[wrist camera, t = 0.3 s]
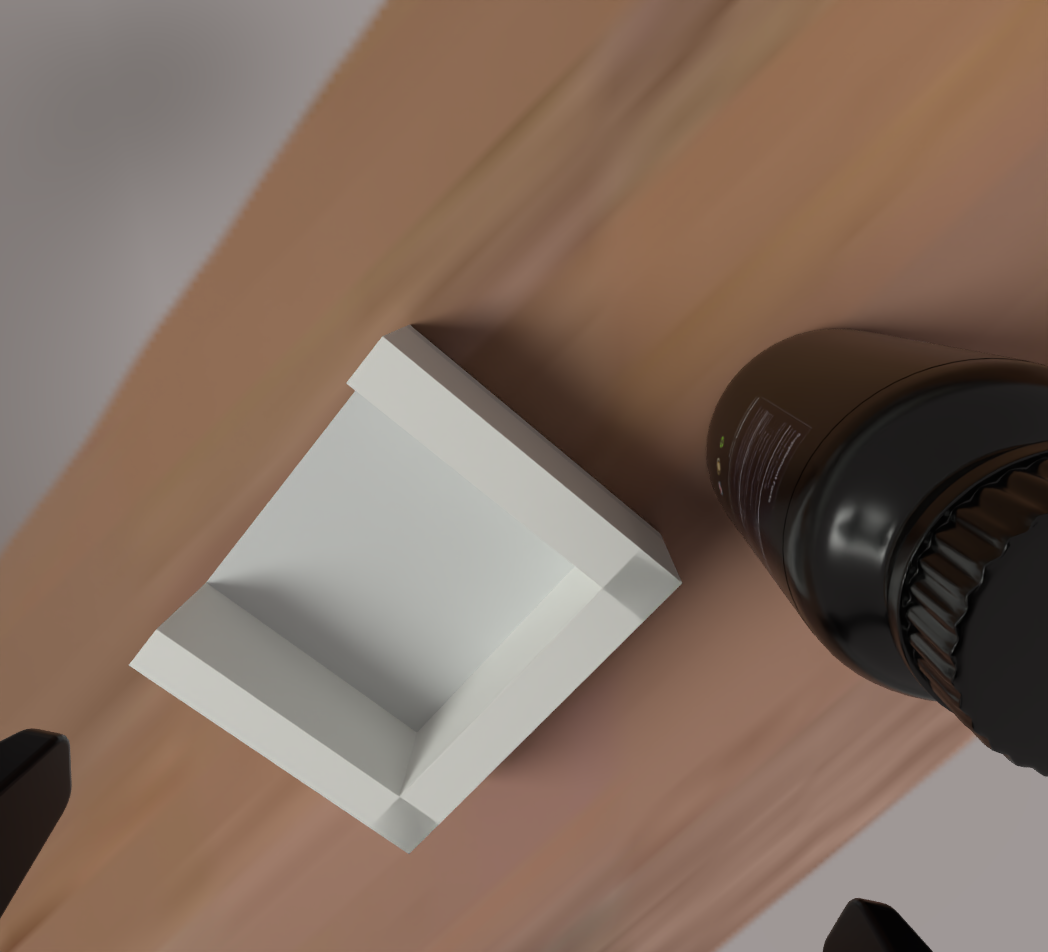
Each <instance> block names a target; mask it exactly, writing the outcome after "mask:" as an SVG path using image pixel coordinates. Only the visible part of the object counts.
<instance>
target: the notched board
mask: <svg viewBox="0 0 1048 952" xmlns="http://www.w3.org/2000/svg"><path fill="white" fill-rule="evenodd" d="M347 384H348V385H349V386H350V387H352V388H353V389H354V390H355V392H354V393H353V395H352V396H351V397H350V399H349V400H348V401H347V402H346V404H345V405H344V406H343V408H342V409H341V410H340V411H339V413H338V414H337V415H336V417H335V418H334V419H333V420H332V422H331V423H330V424H329V426H328V427H327V428H326V429H325V431H324V432H323V433H322V435H321V436H320V437H319V438H318V440H317V441H316V442H315V444H314V445H313V446H312V447H311V449H310V450H309V451H308V453H307V454H306V455H305V456H304V458H303V459H302V460H301V462H300V463H299V464H298V465H297V467H296V468H295V469H294V471H293V472H292V473H291V474H290V476H289V477H288V478H287V480H286V481H285V482H284V483H283V485H282V486H281V487H280V489H279V490H278V491H277V492H276V494H275V495H274V496H273V497H272V499H271V500H270V501H269V503H268V504H267V505H266V506H265V508H264V509H263V510H262V512H261V513H260V514H259V515H258V517H257V518H256V519H255V521H254V522H253V523H252V524H251V526H250V527H249V528H248V530H247V531H246V532H245V533H244V535H243V536H242V537H241V539H240V540H239V541H238V542H237V544H236V545H235V546H234V548H233V549H232V550H231V551H230V553H229V554H228V555H227V557H226V558H225V559H224V560H223V562H222V563H221V564H220V566H219V567H218V568H217V569H216V571H215V572H214V573H213V575H212V576H211V577H210V578H209V580H208V581H207V582H206V583H205V584H204V585H203V586H202V587H201V588H200V589H199V590H198V591H197V592H196V593H195V594H194V595H193V596H191V597H190V598H189V599H188V600H187V601H186V602H185V603H184V604H183V605H182V606H181V607H180V608H179V609H178V610H177V611H176V612H174V613H173V614H172V615H171V616H170V617H169V618H168V619H167V620H166V621H165V622H164V623H163V624H162V625H161V626H160V627H158V628H157V629H156V631H155V632H154V633H153V635H152V636H151V637H150V638H149V640H148V641H147V642H146V644H145V645H144V646H143V647H142V649H141V650H140V651H139V653H138V654H137V655H136V657H135V658H134V659H133V660H132V662H131V663H130V664H129V666H131V667H132V668H134V669H135V670H137V671H138V672H140V673H141V674H143V675H144V676H146V677H147V678H148V679H150V680H151V681H153V682H154V683H156V684H157V685H159V686H160V687H162V688H163V689H165V690H166V691H168V692H169V693H171V694H172V695H174V696H175V697H177V698H178V699H180V700H181V701H183V702H184V703H186V704H187V705H189V706H190V707H192V708H193V709H194V710H196V711H197V712H199V713H200V714H202V715H203V716H205V717H206V718H208V719H209V720H211V721H212V722H214V723H215V724H217V725H218V726H220V727H221V728H223V729H224V730H226V731H227V732H229V733H230V734H232V735H233V736H235V737H236V738H238V739H239V740H240V741H242V742H243V743H245V744H246V745H248V746H249V747H251V748H252V749H254V750H255V751H257V752H258V753H260V754H261V755H263V756H264V757H266V758H267V759H269V760H270V761H272V762H273V763H275V764H276V765H278V766H279V767H281V768H282V769H284V770H285V771H286V772H288V773H289V774H291V775H292V776H294V777H295V778H297V779H298V780H300V781H301V782H303V783H304V784H306V785H307V786H309V787H310V788H312V789H313V790H315V791H316V792H318V793H319V794H321V795H322V796H324V797H325V798H327V799H328V800H330V801H331V802H333V803H334V804H335V805H337V806H338V807H340V808H341V809H343V810H344V811H346V812H347V813H349V814H350V815H352V816H353V817H355V818H356V819H358V820H359V821H361V822H362V823H364V824H365V825H367V826H368V827H370V828H371V829H373V830H374V831H376V832H377V833H379V834H380V835H381V836H383V837H384V838H386V839H387V840H389V841H390V842H392V843H393V844H395V845H396V846H398V847H399V848H401V849H402V850H404V851H405V852H407V853H408V854H409V853H410V852H411V851H412V850H413V849H414V848H416V847H417V846H418V845H419V844H420V843H421V842H422V841H423V840H424V839H425V838H426V837H427V836H428V835H429V834H430V833H431V832H432V831H433V830H434V829H435V828H436V827H437V826H438V825H439V824H440V823H441V822H442V821H443V820H444V819H445V818H446V817H447V816H448V815H449V814H450V813H451V812H452V811H453V810H454V809H455V808H456V807H457V806H458V805H459V804H460V803H461V802H462V801H463V800H464V799H465V798H466V797H467V796H468V795H469V794H470V793H471V792H472V791H473V790H474V789H475V788H476V787H477V786H478V785H479V784H480V783H481V782H482V781H483V780H484V779H485V778H486V777H487V776H488V775H489V774H490V773H491V772H492V771H493V770H494V769H495V768H496V767H497V766H498V765H499V764H500V763H501V762H502V761H503V760H504V759H505V758H506V757H507V756H508V755H509V754H510V753H511V752H512V751H513V750H514V749H515V748H516V747H517V746H518V745H519V744H520V743H521V742H522V741H523V740H524V739H525V738H526V737H528V736H529V735H530V734H531V733H532V732H533V731H534V730H535V729H536V728H537V727H538V726H539V725H540V724H541V723H542V722H543V721H544V720H545V719H546V718H547V717H548V716H549V715H550V714H551V713H552V712H553V711H554V710H555V709H556V708H557V707H558V706H559V705H560V704H561V703H562V702H563V701H564V700H565V699H566V698H567V697H568V696H569V695H570V694H571V693H572V692H573V691H574V690H575V689H576V688H577V687H578V686H579V685H580V684H581V683H582V682H583V681H584V680H585V679H586V678H587V677H588V676H589V675H590V674H591V673H592V672H593V671H594V670H595V669H596V668H597V667H598V666H599V665H600V664H601V663H602V662H603V661H604V660H605V659H606V658H607V657H608V656H609V655H610V654H611V653H612V652H613V651H614V650H615V649H616V648H617V647H618V646H619V645H620V644H621V643H622V642H623V641H624V640H625V639H626V638H627V637H628V636H629V635H630V634H631V633H632V632H633V631H634V630H635V629H636V628H637V627H639V626H640V625H641V624H642V623H643V622H644V621H645V620H646V619H647V618H648V617H649V616H650V615H651V614H652V613H653V612H654V611H655V610H656V609H657V608H658V607H659V606H660V605H661V604H662V603H663V602H664V601H665V600H666V599H667V598H668V597H669V596H670V595H671V594H672V593H673V592H674V591H675V590H676V589H677V588H678V587H679V586H680V585H681V584H682V581H681V579H680V577H679V574H678V572H677V570H676V568H675V565H674V563H673V561H672V559H671V556H670V554H669V552H668V550H667V547H666V545H665V543H664V541H663V538H662V536H661V534H660V533H659V532H658V531H657V530H655V529H654V528H653V527H652V526H651V525H649V524H648V523H647V522H646V521H645V520H643V519H642V518H641V517H640V516H639V515H637V514H636V513H635V512H634V511H633V510H631V509H630V508H629V507H628V506H627V505H625V504H624V503H623V502H622V501H621V500H619V499H618V498H617V497H616V496H615V495H613V494H612V493H611V492H610V491H609V490H607V489H606V488H605V487H604V486H603V485H601V484H600V483H599V482H598V481H597V480H595V479H594V478H593V477H592V476H591V475H589V474H588V473H587V472H586V471H585V470H583V469H582V468H581V467H580V466H579V465H577V464H576V463H575V462H574V461H573V460H571V459H570V458H569V457H568V456H567V455H565V454H564V453H563V452H562V451H561V450H559V449H558V448H557V447H556V446H555V445H553V444H552V443H551V442H550V441H549V440H547V439H546V438H545V437H544V436H543V435H541V434H540V433H539V432H538V431H537V430H535V429H534V428H533V427H532V426H531V425H529V424H528V423H527V422H526V421H525V420H523V419H522V418H521V417H520V416H519V415H517V414H516V413H515V412H514V411H513V410H511V409H510V408H509V407H508V406H507V405H505V404H504V403H503V402H502V401H501V400H499V399H498V398H497V397H496V396H495V395H493V394H492V393H491V392H490V391H489V390H487V389H486V388H485V387H484V386H483V385H481V384H480V383H479V382H478V381H477V380H475V379H474V378H473V377H472V376H471V375H469V374H468V373H467V372H466V371H465V370H463V369H462V368H461V367H460V366H459V365H457V364H456V363H455V362H454V361H453V360H451V359H450V358H449V357H448V356H447V355H445V354H444V353H443V352H442V351H441V350H439V349H438V348H437V347H436V346H435V345H433V344H432V343H431V342H430V341H429V340H427V339H426V338H425V337H424V336H423V335H421V334H420V333H419V332H418V331H417V330H415V329H414V328H413V327H412V326H411V325H407V326H405V327H403V328H401V329H398V330H396V331H394V332H391V333H389V334H387V335H384V336H382V338H381V339H380V340H379V342H378V343H377V344H376V345H375V347H374V348H373V349H372V351H371V352H370V353H369V355H368V356H367V357H366V358H365V360H364V361H363V362H362V364H361V365H360V366H359V367H358V369H357V370H356V371H355V373H354V374H353V375H352V377H351V378H350V379H349V380H348V382H347Z"/></svg>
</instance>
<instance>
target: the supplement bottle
mask: <svg viewBox="0 0 1048 952" xmlns="http://www.w3.org/2000/svg"><path fill="white" fill-rule="evenodd" d="M707 466H708V472H709V476H710V480H711V483H712V486H713V489H714V491H715V493H716V495H717V498H718V500H719V502H720V503H721V505H722V507H723V508H724V510H725V512H726V513H727V515H728V516H729V518H730V519H731V521H732V522H733V523H734V525H735V526H736V528H737V529H738V530H739V532H740V533H741V535H742V536H743V537H744V539H745V540H746V541H747V543H748V544H749V546H750V547H751V548H752V550H753V551H754V553H755V554H756V555H757V557H758V558H759V560H760V561H761V562H762V564H763V565H764V566H765V568H766V569H767V571H768V572H769V573H770V575H771V576H772V578H773V579H774V580H775V582H776V583H777V585H778V586H779V587H780V589H781V590H782V591H783V593H784V594H785V596H786V597H787V598H788V600H789V601H790V603H791V604H792V605H793V607H794V608H795V609H796V611H797V612H798V614H799V615H800V616H801V618H802V619H803V620H804V622H805V623H806V625H807V626H808V627H809V629H810V630H811V631H812V633H813V634H814V635H815V636H816V637H817V638H818V640H819V641H820V642H821V643H822V644H823V645H824V646H825V647H826V648H827V649H828V650H829V651H830V653H831V654H832V655H833V656H835V657H836V658H837V659H838V660H839V661H840V662H842V663H843V664H844V665H845V666H847V667H848V668H850V669H851V670H852V671H854V672H855V673H857V674H858V675H860V676H862V677H864V678H865V679H867V680H869V681H871V682H873V683H875V684H877V685H879V686H882V687H884V688H886V689H889V690H891V691H895V692H898V693H901V694H904V695H907V696H911V697H915V698H920V699H924V700H931V701H937V702H938V703H940V704H941V705H942V706H944V707H945V708H946V709H948V710H949V711H951V712H952V713H954V714H955V715H956V716H957V718H958V719H959V720H960V721H961V722H962V723H963V724H964V725H965V726H966V727H968V728H969V729H970V730H971V731H972V732H973V733H974V734H975V735H976V736H977V737H978V738H979V739H980V740H981V742H982V743H984V744H985V745H986V746H987V747H988V748H990V749H992V750H993V751H996V752H998V753H1001V754H1003V755H1004V756H1005V757H1006V758H1007V759H1008V760H1009V761H1011V762H1012V763H1014V764H1015V765H1017V766H1021V767H1030V768H1033V769H1035V770H1036V771H1037V772H1039V773H1040V774H1042V775H1043V776H1048V366H1045V365H1042V364H1037V363H1033V362H1029V361H1025V360H1020V359H1014V358H1009V357H1004V356H998V355H993V354H988V353H982V352H977V351H971V350H966V349H961V348H955V347H950V346H945V345H939V344H934V343H928V342H923V341H918V340H912V339H907V338H901V337H896V336H891V335H885V334H880V333H874V332H867V331H860V330H852V329H823V330H816V331H810V332H806V333H802V334H798V335H795V336H793V337H790V338H787V339H785V340H783V341H780V342H778V343H776V344H774V345H773V346H771V347H769V348H768V349H766V350H764V351H763V352H761V353H760V354H759V355H757V356H756V357H754V358H753V359H752V360H751V361H750V362H749V363H748V364H746V365H745V366H744V367H743V368H742V369H741V370H740V371H739V372H738V374H737V375H736V376H735V377H734V378H733V380H732V381H731V382H730V383H729V385H728V386H727V388H726V389H725V391H724V392H723V394H722V396H721V398H720V400H719V402H718V404H717V406H716V408H715V411H714V413H713V416H712V419H711V423H710V426H709V431H708V437H707Z"/></svg>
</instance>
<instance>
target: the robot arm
mask: <svg viewBox="0 0 1048 952" xmlns="http://www.w3.org/2000/svg"><path fill="white" fill-rule="evenodd" d="M71 786H72V785H71V760H70V743H69V740H68V739H67V737H66V736H65V735H63V734H59V733H54V732H50V731H45V730H40V729H26V730H23V731H20V732H18V733H16V734H14V735H12V736H10V737H8V738H6V739H4V740H2V741H0V918H1V916H2V915H3V913H4V911H5V910H6V908H7V906H8V905H9V903H10V901H11V900H12V898H13V896H14V895H15V893H16V891H17V890H18V888H19V886H20V884H21V883H22V881H23V879H24V878H25V876H26V874H27V873H28V871H29V869H30V868H31V866H32V864H33V863H34V861H35V859H36V858H37V856H38V854H39V852H40V851H41V849H42V847H43V846H44V844H45V842H46V841H47V839H48V837H49V836H50V834H51V832H52V831H53V829H54V827H55V826H56V824H57V822H58V820H59V819H60V817H61V815H62V814H63V812H64V810H65V808H66V806H67V804H68V801H69V798H70V794H71ZM823 952H933V951H932V950H931V949H930V948H929V947H928V946H927V945H926V944H925V942H924V941H923V940H922V939H921V938H920V937H919V936H918V935H917V933H916V932H915V931H914V930H913V929H912V928H911V927H910V926H909V925H908V924H907V922H906V921H905V920H904V919H903V918H902V917H901V916H900V915H899V913H897V912H896V911H895V910H894V909H893V908H892V907H891V906H889V905H887V904H884V903H880V902H876V901H871V900H866V899H861V898H855V899H853V900H851V901H849V902H848V904H847V905H846V907H845V909H844V910H843V912H842V913H841V915H840V917H839V918H838V920H837V922H836V923H835V925H834V927H833V929H832V930H831V932H830V934H829V935H828V937H827V939H826V941H825V944H824V947H823Z"/></svg>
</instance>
